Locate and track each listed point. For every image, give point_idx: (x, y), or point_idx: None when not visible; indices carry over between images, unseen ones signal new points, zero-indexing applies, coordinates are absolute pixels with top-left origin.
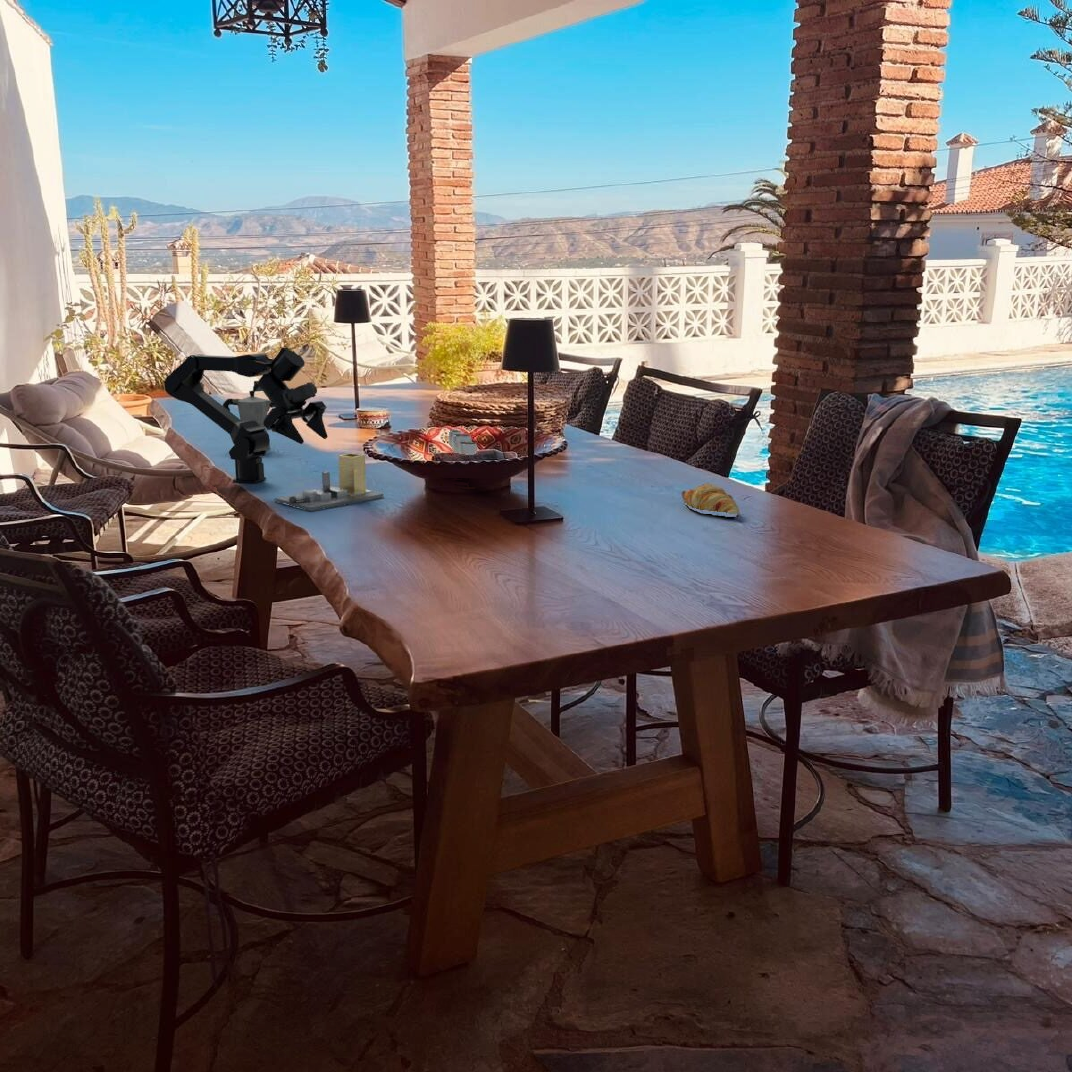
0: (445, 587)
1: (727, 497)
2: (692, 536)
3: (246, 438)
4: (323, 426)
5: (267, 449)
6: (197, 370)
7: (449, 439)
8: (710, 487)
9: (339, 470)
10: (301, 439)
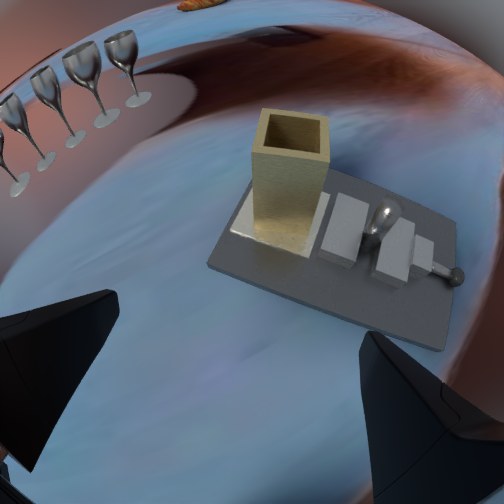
0: (475, 76)
1: None
2: (284, 2)
3: None
4: (48, 309)
5: None
6: None
7: (48, 84)
8: None
9: (319, 197)
10: (387, 338)
